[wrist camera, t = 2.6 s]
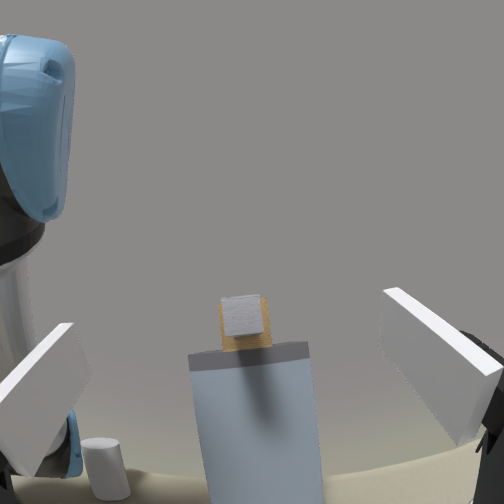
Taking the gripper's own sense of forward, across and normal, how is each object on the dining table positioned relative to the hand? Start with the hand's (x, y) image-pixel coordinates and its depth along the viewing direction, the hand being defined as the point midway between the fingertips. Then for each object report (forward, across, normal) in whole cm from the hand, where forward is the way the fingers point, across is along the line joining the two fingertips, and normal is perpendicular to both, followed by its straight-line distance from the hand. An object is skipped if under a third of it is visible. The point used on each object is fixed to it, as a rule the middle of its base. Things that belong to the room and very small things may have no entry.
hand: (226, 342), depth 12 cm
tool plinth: (+12, 0, -43) cm, 44 cm away
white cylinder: (+20, -31, -48) cm, 60 cm away
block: (+20, 0, -13) cm, 24 cm away
